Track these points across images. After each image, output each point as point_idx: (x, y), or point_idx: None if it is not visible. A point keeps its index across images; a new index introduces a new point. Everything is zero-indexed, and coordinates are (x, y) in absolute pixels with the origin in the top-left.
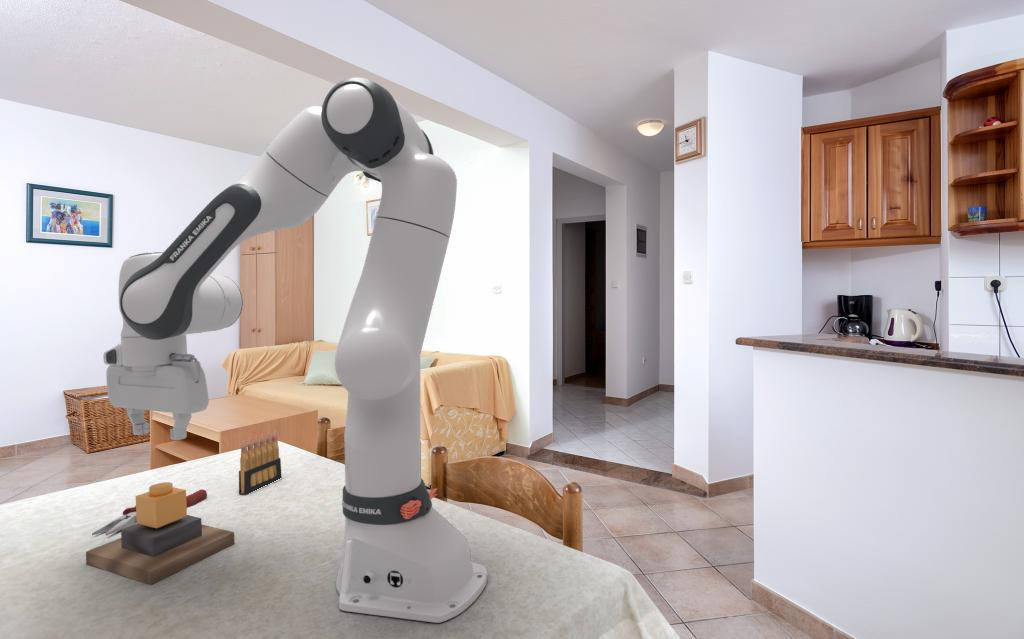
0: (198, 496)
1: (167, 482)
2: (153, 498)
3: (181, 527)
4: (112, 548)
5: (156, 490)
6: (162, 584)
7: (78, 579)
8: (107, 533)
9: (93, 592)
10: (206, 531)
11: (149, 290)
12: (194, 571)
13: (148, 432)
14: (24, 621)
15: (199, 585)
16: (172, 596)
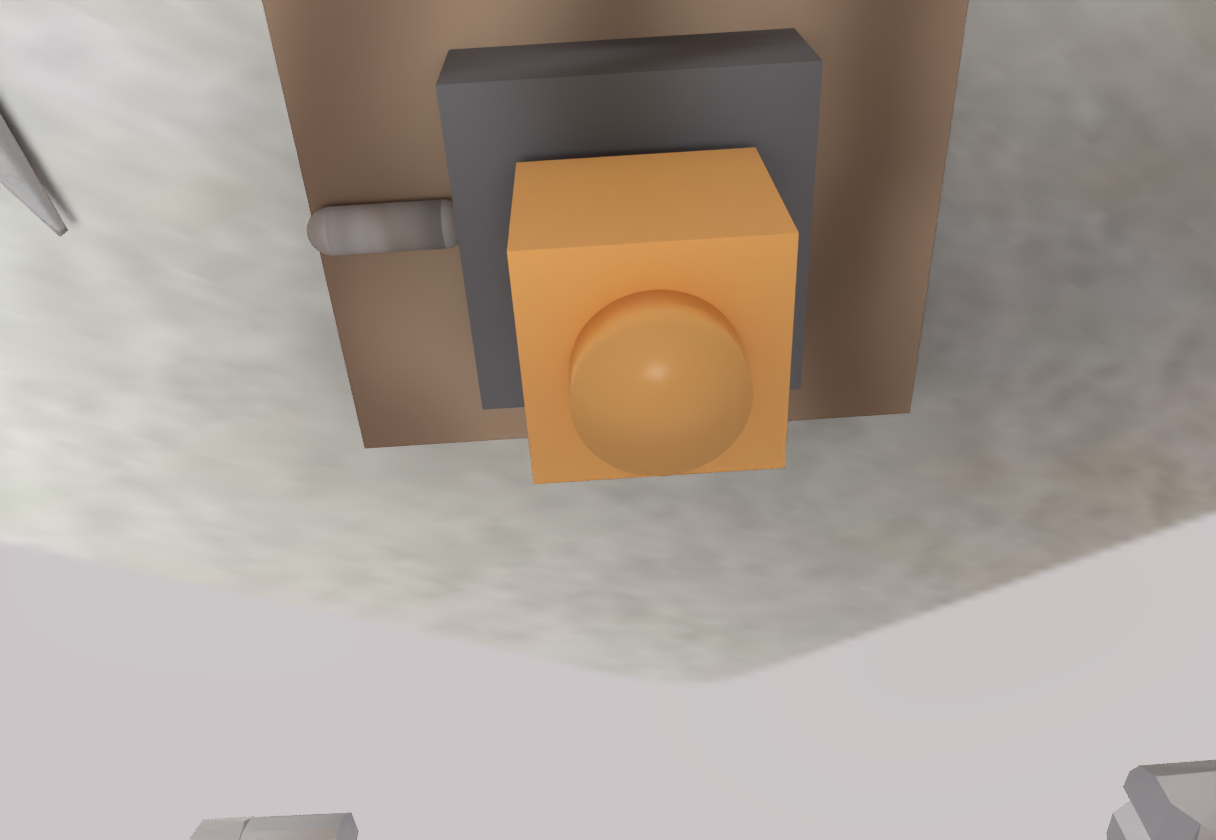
0: None
1: (626, 331)
2: (724, 453)
3: (811, 216)
4: (448, 373)
5: (711, 452)
6: (940, 352)
7: (519, 483)
8: (58, 225)
9: (705, 500)
10: None
11: None
12: (992, 216)
13: (347, 817)
14: (685, 660)
15: (1130, 284)
16: (1076, 384)
